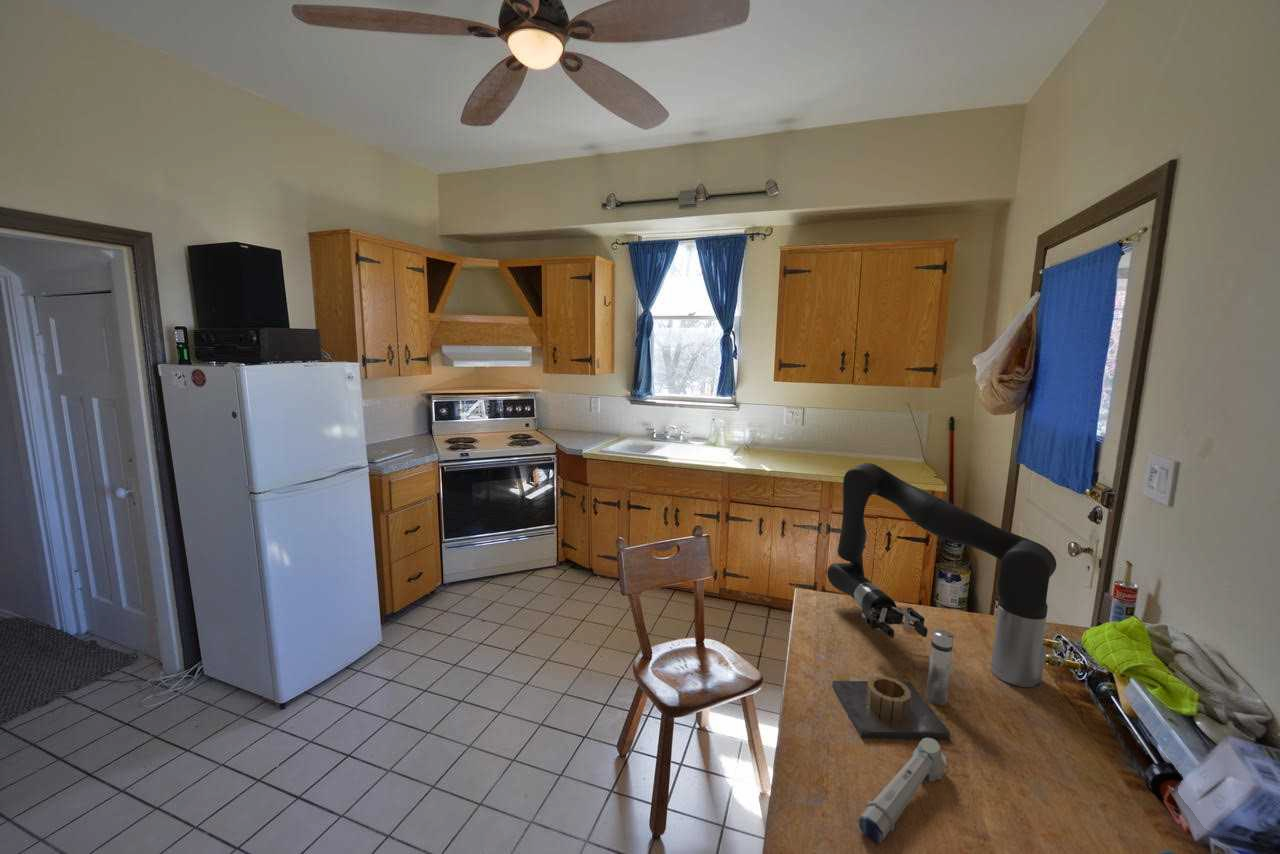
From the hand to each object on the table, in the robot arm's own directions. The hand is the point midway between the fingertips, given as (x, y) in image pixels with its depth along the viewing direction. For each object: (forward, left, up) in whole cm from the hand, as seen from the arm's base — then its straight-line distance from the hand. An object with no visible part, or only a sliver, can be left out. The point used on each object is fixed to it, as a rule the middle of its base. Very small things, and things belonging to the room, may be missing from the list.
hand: (909, 634), depth 125 cm
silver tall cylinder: (-1, +11, -9) cm, 15 cm away
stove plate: (+12, +15, -9) cm, 21 cm away
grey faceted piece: (+19, +37, -10) cm, 43 cm away
